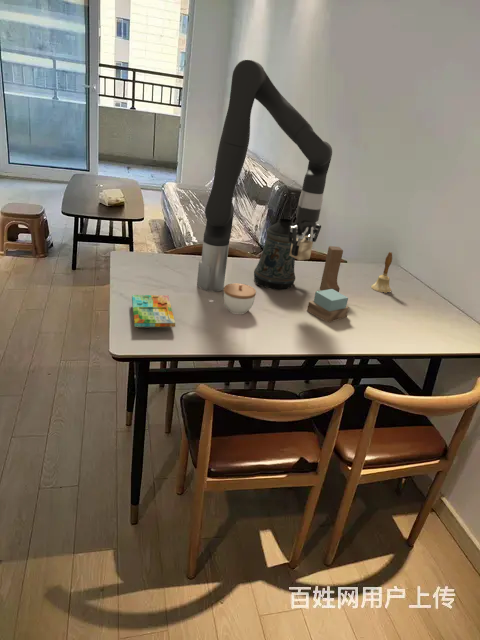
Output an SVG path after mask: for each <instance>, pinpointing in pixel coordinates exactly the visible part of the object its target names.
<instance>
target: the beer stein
mask: <svg viewBox="0 0 480 640" xmlns="http://www.w3.org/2000/svg"><path fill="white" fill-rule="evenodd" d="M296 223H297V222H293V221H292V219H289V218H279V220H278V221H277V222H276V223H273V224H272V225H270V226H269V227H268V228H266V236H267V237H266V240H265V243H264V247H263V249H262V253H261V255H260V258H259V261H258V263H257V265H256V266H255V268H254V270H253V276H254V278H253V279H254V283H256V284H257V285H258V286H261V287H263V288H264V289H265V288H266V289H271V290H275V291H276V290H278V291H280V290H284V291H285V290H289V289H291V288H292V287H293V285H294V283H295V281H296V274H295V261H296V258H293V257H291V256H289V254H290V249H291V244H292V243H289V226H295V225H296ZM298 236H301V235H299V234H298ZM292 239H293V238H292Z"/></svg>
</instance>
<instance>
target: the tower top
mask: <svg viewBox="0 0 480 640" xmlns="http://www.w3.org/2000/svg"><path fill="white" fill-rule="evenodd" d="M313 301H314V303H316V304H318V305H319V306H321V307H323V308H324V309H326V310H328V311H334V310H339V309H344V308H346V307H347V305H348V301H349V297H348V296H346V295H344V294H342V293H341V292H340V291H339V292H337V291H335V290H333V289H328V290H322V291H321V290H319V291H315V294H314V299H313Z"/></svg>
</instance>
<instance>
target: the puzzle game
mask: <svg viewBox="0 0 480 640" xmlns="http://www.w3.org/2000/svg"><path fill="white" fill-rule="evenodd" d="M131 304H132V305H131V306H132V316H133V317H132V318H133V327H134V328H135V327H137V328H138V327H169V328H172V327H173V328H175V327H176V321H175V317H174V311H173V309H172V305H171V300H170V297H169V295H168V294H167V295H162V294H159V295H154V294H153V295H152V294H150V295H149V294H132V295H131Z"/></svg>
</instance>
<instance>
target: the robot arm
mask: <svg viewBox="0 0 480 640" xmlns="http://www.w3.org/2000/svg"><path fill="white" fill-rule="evenodd" d="M229 93H230V94H229V102H228V107H227V111H226V112H227V113H226V116H225V119H224V122H223V123H224V124H223V128H222V131H221V134H220V139H219V144H218V149H217V155H216V160H215V168H214V176H213V182H212V187H211V190H210V193H209V197H208V200H207V202H206V205H205V208H204V216H205V219H206V224H205V229H204V234H203V240H202V250H201V251H202V252H201V260H200V261H199V262H198V267H197V268H198V269H197V271H198V272H197V279H196V280H197V281H196V286H197V287H199V288H200V289H201V290H203V291H205V292H220V291H224V287H225V281H226V271H227V263H228V255H229V249H230V247H229V246H230V239H231V234H232V229H233V228H232V227H233V221H234V212H235V207H234V204H233V198H234V193H235V188H236V186H237V183H238V181H239V177H240V175H241V173H242V170H243V167H244V164H245V161H246V157H247V153H248V150H249V144H250V139H251V138H250V135H251V114H252V110H253V105H254V103H255V100H256V101H257V102H259V103H260V104H261V105H262V106H263V107H264V108H265V109H266V110H267V111H268V113H269V114H270V115H271V117H272V118H273V120H274V121H275V122H276V124H277V125H278V126H279V128H280V129H281V130H282V131H283V132H284V134H286V135H287V137H288V138H289V139H290V140H291V141H292V142H293V143H294V144H295V145H296V146H297V147H298V148H299V150H300V151H301V152H302V154H303V155H304V156H305V158H306V159H307V160H308V165H307V171H306V173H305V175H304V178H303V183H302V189H301V193H300V194H299V195H300V196H299V199H298V203H297V209H296V214H295V215H296V216H295V217H296V220H297V221H296V222H295V223H296V225H295V226H289V243H292V244H293V246H292V251H291V253H292V255H294V256H297V255H298V250H299V244H300V242H301V240H303V238H305V239H307V240H309V241H312V242H313V243H316V242H317V239H318V237H319V234H320V232H321V230H322V225H320V224H318V221H319V220H320V214H321V209H322V205H323V200H324V199H323V197H324V191H325V188H326V180H327V175H328V172H329V167H330V165H331V161H332V157H333V148H332V146H331V145H330V143H329V142H328V141H325V140H324V141H323V139H322V138H321V137H320V136H319V135H318V134H317V133H316V132H315V131H314V128H313V127H312V125H311V124H310V123H309V122H308V121H307V120H306V118H305V117H303V115H302V114H301V113H300V112H299V111H298V110H297V109H296V108H295V107H294V106H293V105H292V104H291V103H290V102H289V101H288V100H287V99H286V98H285V97H284V96H283V95H282V94H281V92H280V91H279V90H278V88H277V87H276V86H275V85H274V83H273V81H272V80H271V79H270V77H269V75H268V74H267V72H266V71H265V69H264V67H263V65H262V64H260V63H259V62H257V61H255V60H252V59H249V58H246V59H242V60H241V61H239V62H237V64H236V66H235V67H234V69H233V71H232V76H231V85H230V92H229ZM298 234H299V235H301V236H298ZM292 238H293V240H292ZM297 238H298V241H296V240H297Z"/></svg>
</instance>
